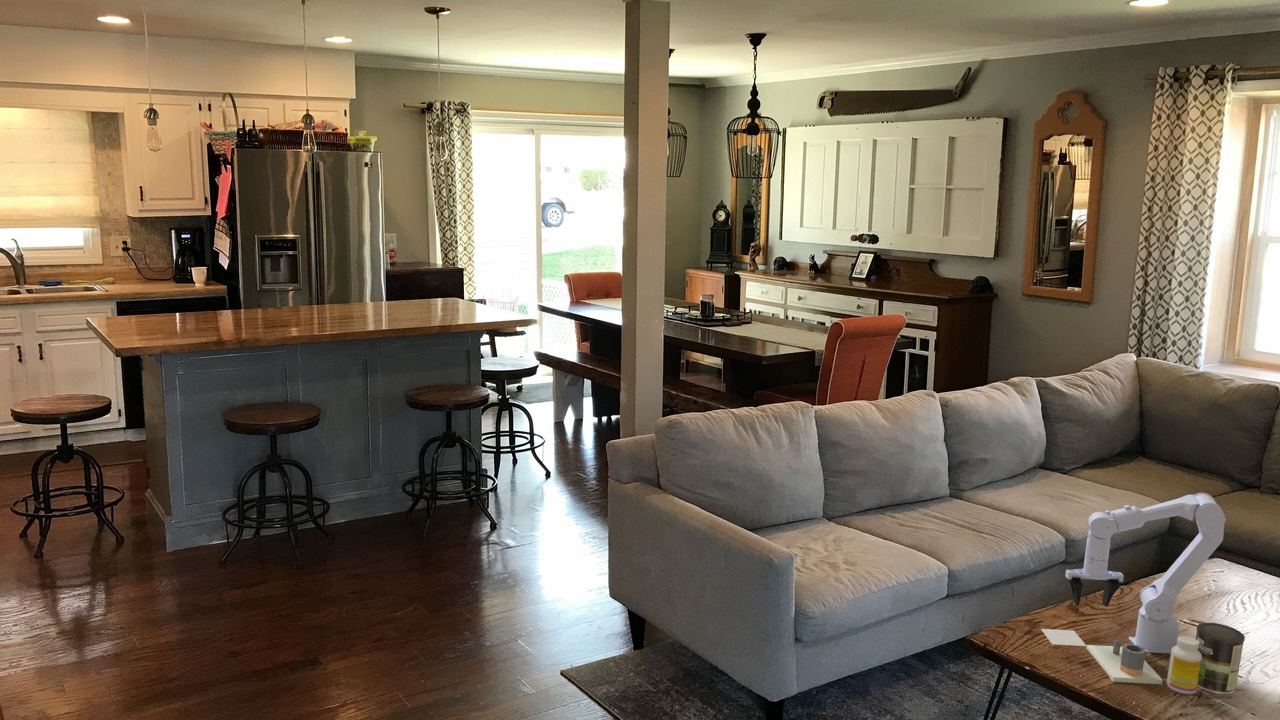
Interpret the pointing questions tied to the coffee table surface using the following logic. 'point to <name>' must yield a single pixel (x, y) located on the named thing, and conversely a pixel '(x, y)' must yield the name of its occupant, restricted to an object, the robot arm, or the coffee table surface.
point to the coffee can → (1219, 657)
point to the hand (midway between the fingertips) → (1090, 604)
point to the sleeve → (1132, 659)
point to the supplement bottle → (1184, 666)
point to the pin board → (1111, 664)
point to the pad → (1063, 637)
